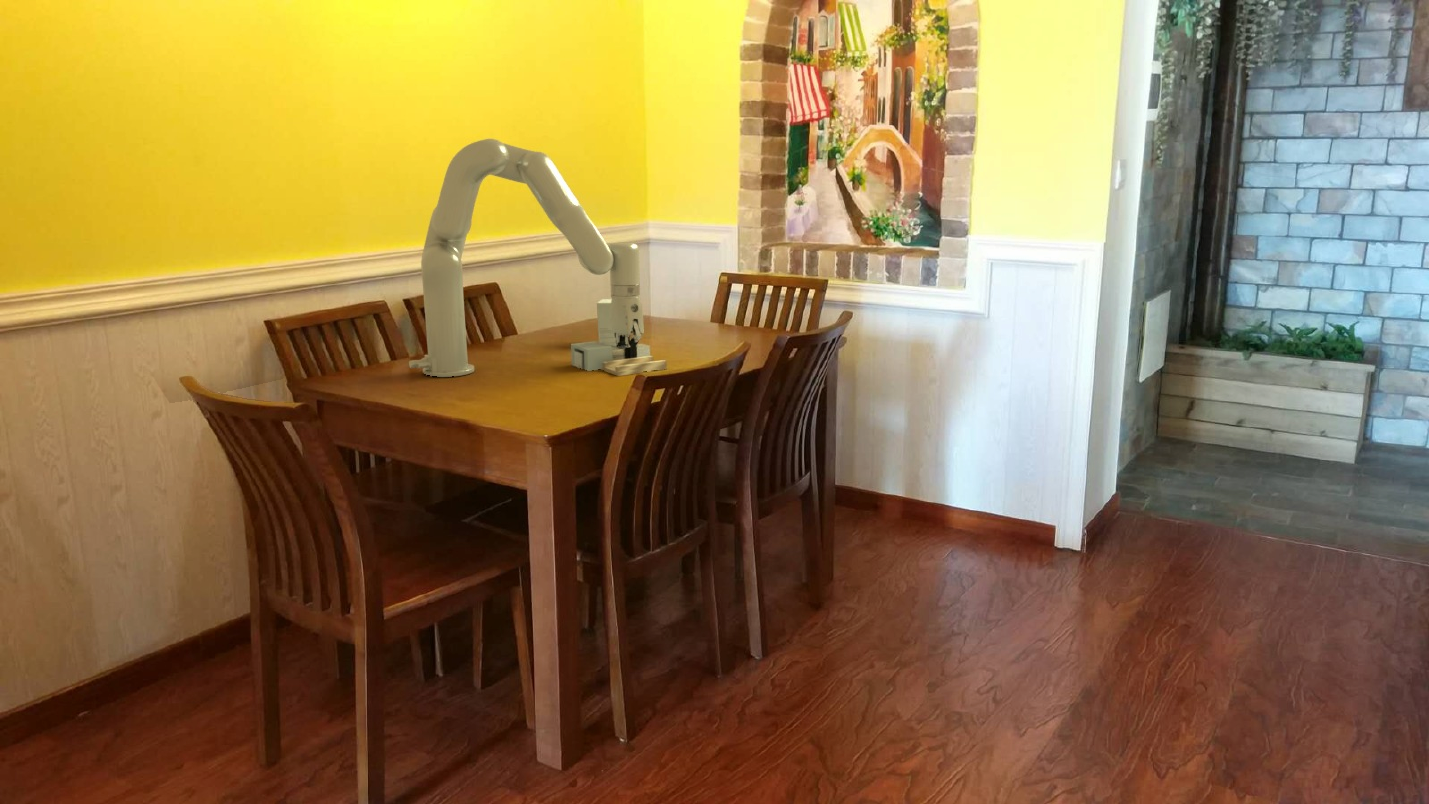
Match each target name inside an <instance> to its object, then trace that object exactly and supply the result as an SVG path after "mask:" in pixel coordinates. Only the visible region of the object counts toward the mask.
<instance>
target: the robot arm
mask: <svg viewBox="0 0 1429 804" xmlns="http://www.w3.org/2000/svg"><path fill="white" fill-rule="evenodd" d="M488 176H494V177H498V178H501V179H505V180H509V181H513V182H516V183H521V184H525V185H527V188H529V190H530V191H531V193H532V195H533V196H534V198H535V199H536V200H537V202H538V204H539V205H540V207H541V209H543V212H544V213H545V214H546V215H547V218H548V219H549V220H550V221H551V223H552V224H553V226H555V228H557V229H558V230H559V232H561V234H562V235H563V236H564V237H565V239H566V240H567V241H568V242H569V244H570V245H571V247H572V248H573V250H574V251H575V253H576V254H577V255H578V256H577V257H578V258H577V259H578V262H579V264H580V265H581V267H582V268H583V269H584V270H586V271H587V272H589V273H590V274H593V275H595V276H601V275H605V274H607V273H608V272H609V276H610V278H609V279H610V281H609V283H610V297H611V299H612V300H611V329H612V332H613V334H614V336H615V338H616V340H615V342H616V344H618V345H616V346H626V345H627V347H625V359H630V358H637V346H638V344H639V341H640V340H641V339H642V335H643V334H644V331H645V330H644V329H645V328H644V311H643V306H642V305H643V304H642V299H641V295H640V294H641V290H640V289H641V288H640V287H641V286H640V248H639V246H638V244H636V243H634V242H631V241H630V242H627V241H626V242H625V241H624V242H620V241H619V242H614V243H608V242H607V243H606V241H605V240H604V237H603V236H602V235H601V233H600V232H599V230H598V229H597V227H596V226H595V224H594V223H593V221H592V219H590V217H589V216H588V214H587V212H586V211H585V208H584V207H583V206H582V204H581V203H580V201H579V199H578V198H577V196H576V195H575V194H574V192H573V191H572V189H571V188H570V186H569V185H568V183H567V182H566V180H565V177H563V175H562V174H561V172H560V170H559V169H558V167H557V166H556V164H555V163H554V162H553V160H552V159H551V157H550V156H549V155H548V154H546V153H544V152H541V151H534V150H530V149H525V148H521V147H517V146H514V145H510V144H507V143H503V142H501V141H500V140H498V139H494V138H486V139H482V140H477V141H473V142H471V143H470V144H467V145H465V146H464V147H462V148H461V149H460V150H458V152H457V153H456V154H455V155H454V156H453V157H452V159H451V161H450V162H449V164H448V166H447V169H446V171H445V174H444V179H443V182H442V186H441V188H440V189H441V190H440V192H439V196H438V201H437V204H436V206H435V208H434V209H433V211H432V213H431V216H430V220H429V225H428V228H427V233H426V238H425V241H424V245H423V250H422V253H421V261H420V262H421V263H420V265H421V266H420V269H421V280H422V291H423V307H424V314H425V315H424V317H425V330H426V345H427V354H424V355H423V356H424V357H422V358H421V359H412V360H408V366H409V368H410V369H422V374H423V373H424V374H426V375H425V376H427V375H430V376H429V377H432V376H437V377H436V378H452V376H454V377H460V376H465V375H469V374H472V373H474V372H475V365H473V364H470V363H468V360H469V359H468V349H467V348H468V346H467V332H466V318H465V317H466V316H465V314H466V313H465V301H464V299H465V298H464V297H465V296H464V276H463V275H464V273H463V263H462V256H463V252H464V248H465V243H466V240H467V235H468V234H469V232H470V231H471V227H472V221H473V215H474V214H473V213H474V209H475V205H476V201H477V197H478V194H479V192H480V191H479V190H480V186H481V184H482V183H483V181H484V180H485V178H487V177H488ZM622 335H623V336H622ZM625 343H626V344H625ZM616 346H615V347H616ZM424 374H423V375H424Z"/></svg>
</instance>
